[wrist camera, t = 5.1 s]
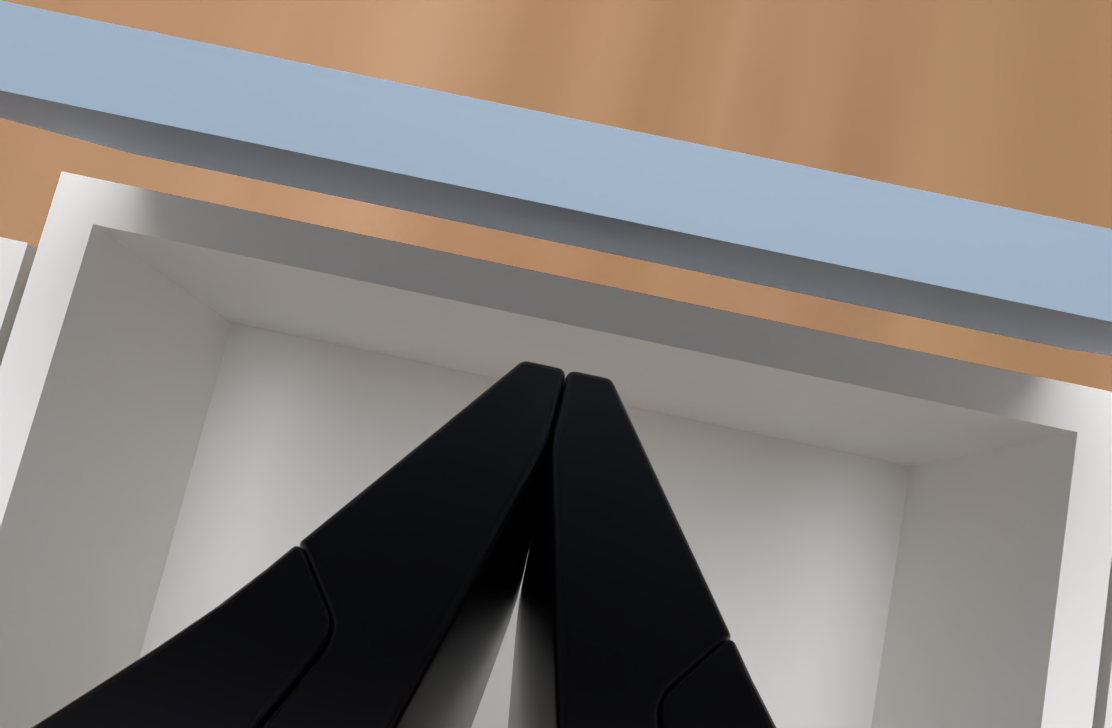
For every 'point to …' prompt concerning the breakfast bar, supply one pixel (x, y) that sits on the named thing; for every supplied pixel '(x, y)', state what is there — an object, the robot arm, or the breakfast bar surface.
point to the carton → (463, 375)
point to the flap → (560, 179)
